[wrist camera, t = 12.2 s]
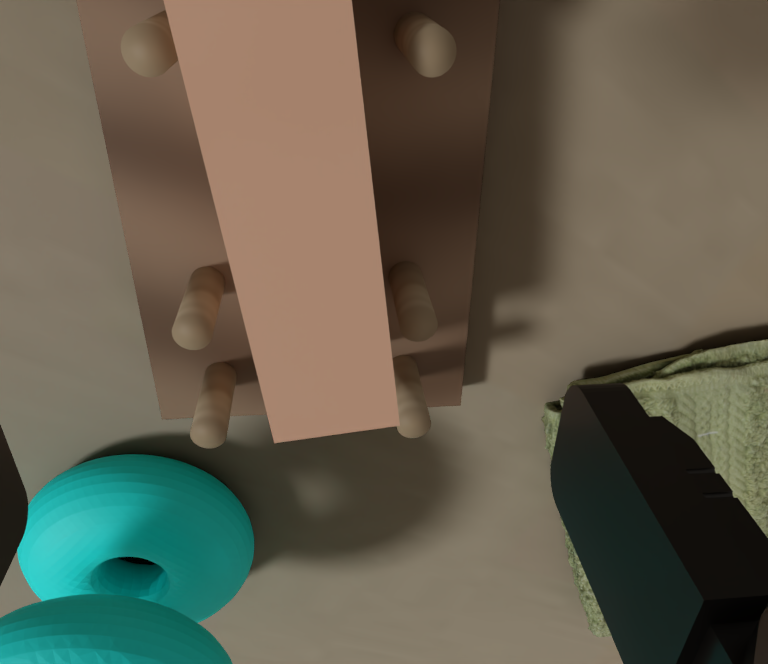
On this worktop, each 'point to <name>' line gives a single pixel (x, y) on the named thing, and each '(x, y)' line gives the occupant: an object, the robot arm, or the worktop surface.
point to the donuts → (128, 565)
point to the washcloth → (697, 426)
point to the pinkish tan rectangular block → (294, 203)
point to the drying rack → (390, 186)
